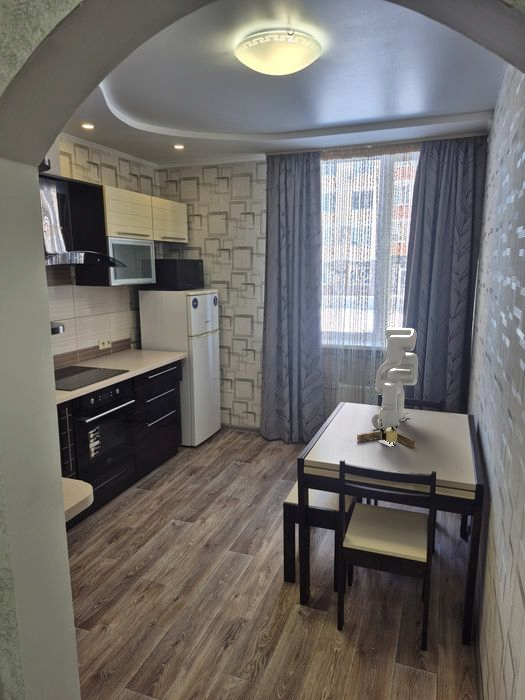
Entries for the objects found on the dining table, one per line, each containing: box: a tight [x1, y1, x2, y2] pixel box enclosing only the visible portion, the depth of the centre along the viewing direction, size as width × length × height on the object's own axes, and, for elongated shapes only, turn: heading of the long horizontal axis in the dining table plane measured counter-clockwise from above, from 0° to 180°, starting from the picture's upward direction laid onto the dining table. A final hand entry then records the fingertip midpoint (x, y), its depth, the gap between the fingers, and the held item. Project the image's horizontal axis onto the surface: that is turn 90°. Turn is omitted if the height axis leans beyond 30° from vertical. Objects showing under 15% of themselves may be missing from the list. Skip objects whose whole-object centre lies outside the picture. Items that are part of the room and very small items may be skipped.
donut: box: [371, 412, 382, 430], centre depth 267 cm, size 10×4×10 cm, turn 63°
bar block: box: [380, 427, 398, 443], centre depth 246 cm, size 8×5×5 cm, turn 24°
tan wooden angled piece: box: [356, 429, 416, 449], centre depth 245 cm, size 22×20×4 cm
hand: (388, 438), depth 246 cm, fingers closed on bar block, 5 cm apart
